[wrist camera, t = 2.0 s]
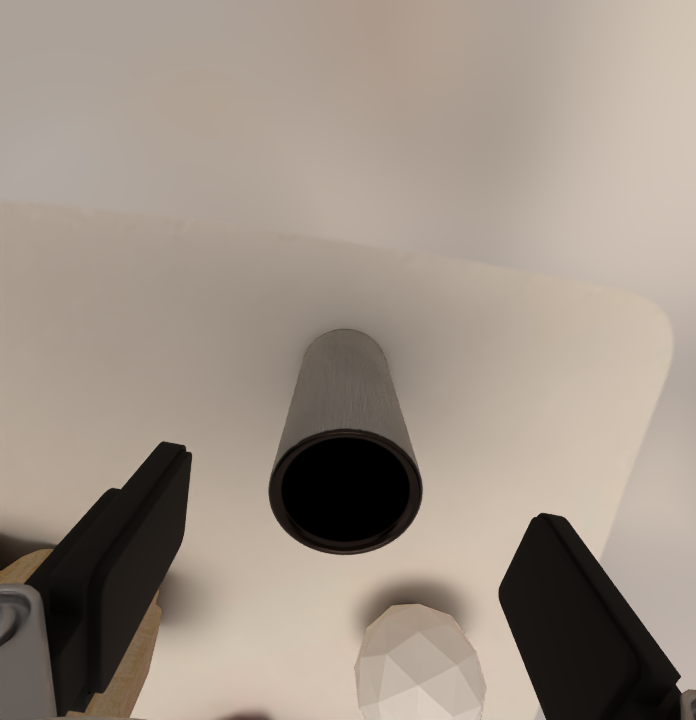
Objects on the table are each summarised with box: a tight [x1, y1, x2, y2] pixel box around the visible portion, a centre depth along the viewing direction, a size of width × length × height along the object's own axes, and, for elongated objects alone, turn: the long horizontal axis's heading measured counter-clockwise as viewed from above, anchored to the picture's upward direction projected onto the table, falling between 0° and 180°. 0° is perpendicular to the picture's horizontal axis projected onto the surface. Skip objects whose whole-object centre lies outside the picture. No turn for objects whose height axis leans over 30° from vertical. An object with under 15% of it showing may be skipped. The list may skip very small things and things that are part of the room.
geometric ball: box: [354, 604, 486, 720], centre depth 24 cm, size 8×8×8 cm
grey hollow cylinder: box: [269, 329, 423, 555], centre depth 16 cm, size 4×4×10 cm
